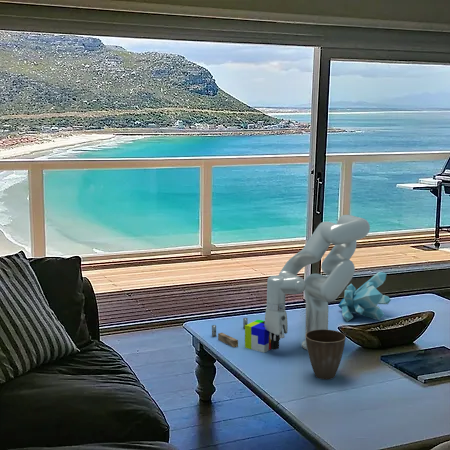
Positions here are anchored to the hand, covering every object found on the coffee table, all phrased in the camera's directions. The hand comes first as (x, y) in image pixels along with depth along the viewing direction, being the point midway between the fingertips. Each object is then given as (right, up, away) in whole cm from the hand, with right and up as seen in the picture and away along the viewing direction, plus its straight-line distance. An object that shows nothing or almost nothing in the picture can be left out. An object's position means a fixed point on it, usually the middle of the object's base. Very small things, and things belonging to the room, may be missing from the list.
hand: (274, 348), depth 271 cm
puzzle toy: (-5, -1, +9) cm, 10 cm away
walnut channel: (-12, +1, +18) cm, 22 cm away
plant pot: (+17, -6, -23) cm, 29 cm away
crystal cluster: (+47, +6, +46) cm, 67 cm away
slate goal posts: (-18, +2, +27) cm, 33 cm away
